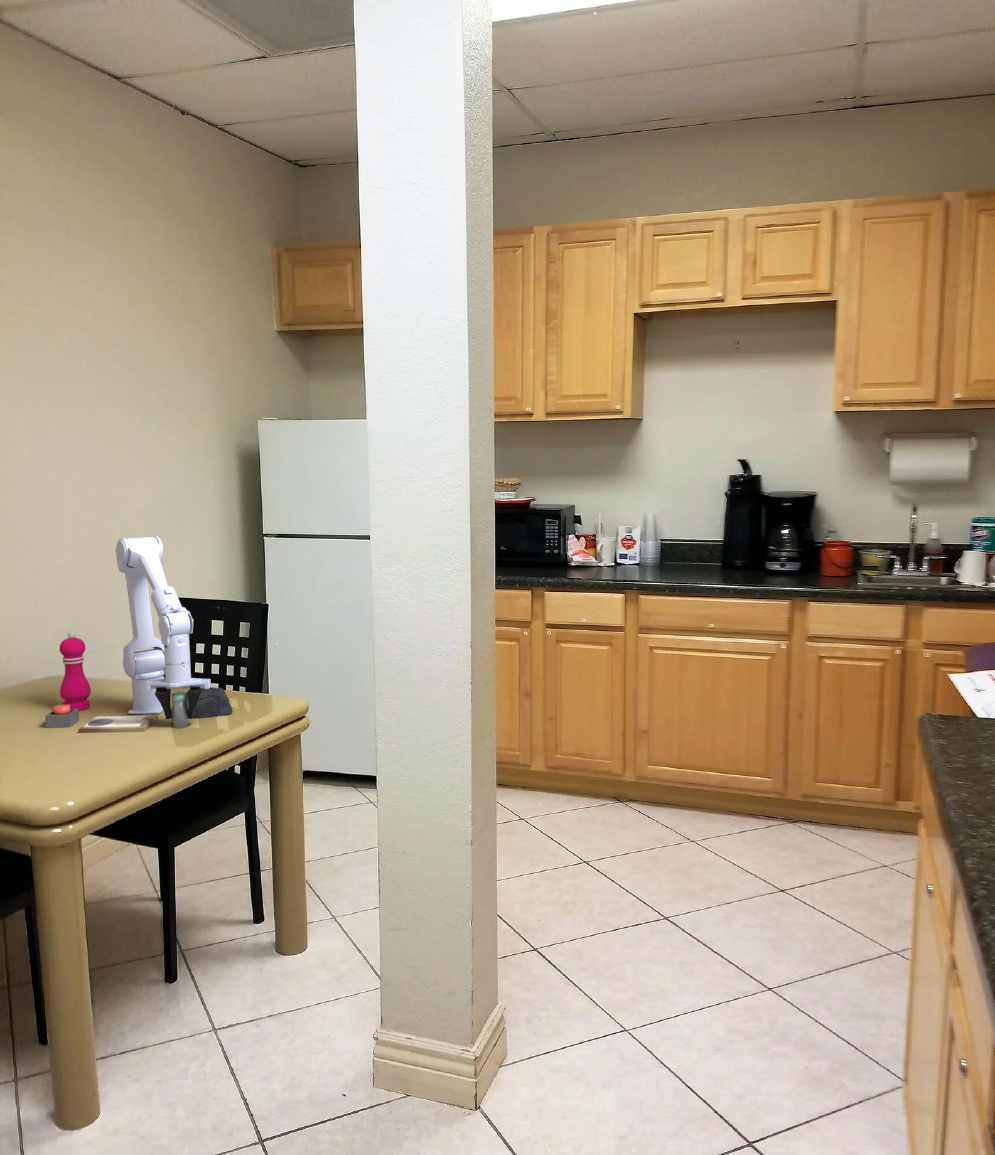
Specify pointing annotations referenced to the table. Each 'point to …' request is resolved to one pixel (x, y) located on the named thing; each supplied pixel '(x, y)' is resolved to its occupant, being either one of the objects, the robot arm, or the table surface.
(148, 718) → the clipboard
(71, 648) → the pepper mill
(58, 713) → the button
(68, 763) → the table surface
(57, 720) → the button box
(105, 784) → the table surface
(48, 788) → the table surface
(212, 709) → the dark slate chunk
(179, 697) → the marker
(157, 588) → the robot arm
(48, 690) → the table surface
